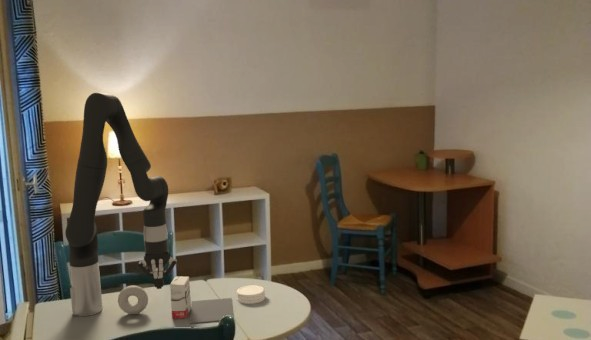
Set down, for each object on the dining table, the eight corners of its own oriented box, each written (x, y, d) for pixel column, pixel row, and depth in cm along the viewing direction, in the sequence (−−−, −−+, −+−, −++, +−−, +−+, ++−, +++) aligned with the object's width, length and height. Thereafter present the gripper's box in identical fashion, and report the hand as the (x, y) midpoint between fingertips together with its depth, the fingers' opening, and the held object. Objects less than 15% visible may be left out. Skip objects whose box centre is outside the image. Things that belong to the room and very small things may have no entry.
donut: (150, 311, 193) (148, 283, 191) (148, 315, 189) (146, 286, 188) (120, 312, 192) (117, 284, 190) (117, 316, 189) (115, 288, 187)
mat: (190, 323, 182) (190, 322, 182) (191, 302, 199) (191, 301, 199) (233, 320, 184) (233, 318, 184) (231, 299, 201) (231, 297, 201)
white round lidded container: (233, 303, 198) (232, 294, 197) (242, 293, 207) (242, 283, 207) (260, 305, 195) (260, 296, 195) (268, 294, 205) (268, 285, 204)
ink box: (186, 318, 186) (184, 284, 184) (171, 319, 186) (169, 285, 184) (191, 308, 194) (189, 275, 192) (177, 308, 194) (175, 275, 192)
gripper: (133, 242, 180) (137, 294, 183) (175, 239, 182) (179, 290, 185) (136, 236, 187) (140, 285, 190) (177, 233, 189) (180, 282, 192)
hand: (159, 288), depth 187 cm, fingers closed
